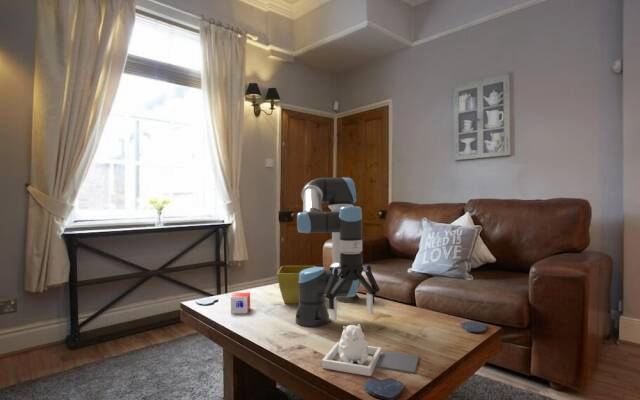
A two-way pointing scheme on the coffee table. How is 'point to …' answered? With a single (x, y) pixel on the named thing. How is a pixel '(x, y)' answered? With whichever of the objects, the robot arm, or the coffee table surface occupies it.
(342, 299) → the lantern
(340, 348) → the figurine
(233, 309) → the red and white cube
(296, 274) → the flower pot
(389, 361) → the coaster pad
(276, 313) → the coffee table surface
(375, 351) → the bin frame
